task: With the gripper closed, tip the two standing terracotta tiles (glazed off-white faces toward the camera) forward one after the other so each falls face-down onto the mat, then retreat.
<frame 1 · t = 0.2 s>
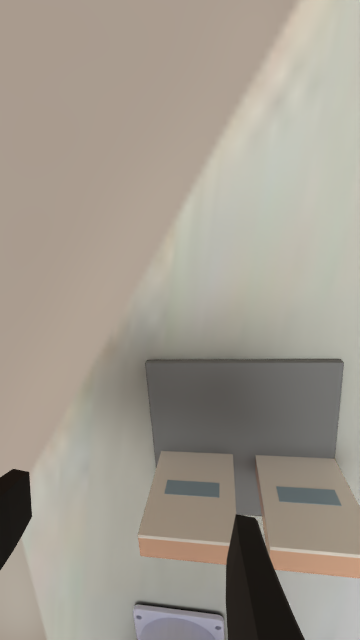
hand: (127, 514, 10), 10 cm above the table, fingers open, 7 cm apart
mat: (239, 440, 20), on the table
tile a: (293, 466, 19), resting on mat
tile b: (196, 461, 20), resting on mat
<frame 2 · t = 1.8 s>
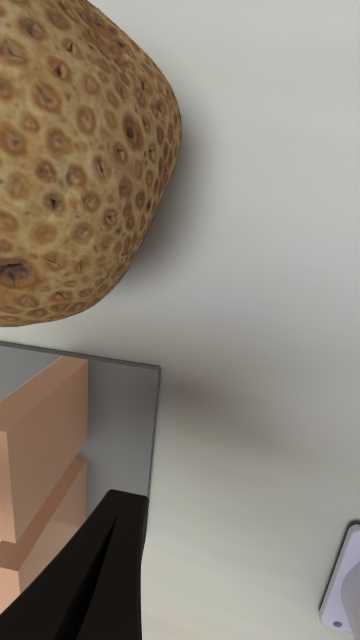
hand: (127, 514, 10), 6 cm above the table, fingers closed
mat: (56, 440, 17), on the table
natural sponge: (93, 195, 14), on the table
tile a: (75, 398, 16), resting on mat
tile b: (76, 490, 18), resting on mat
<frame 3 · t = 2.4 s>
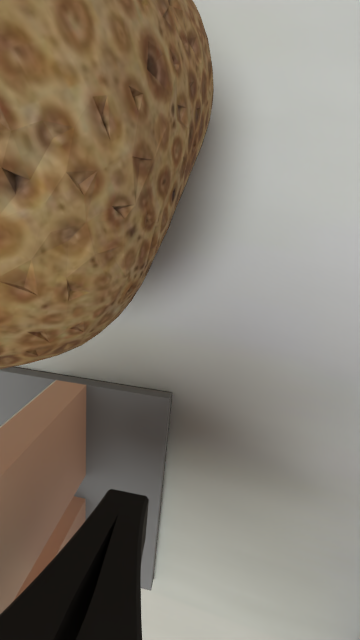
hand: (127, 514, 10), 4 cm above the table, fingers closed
mat: (50, 474, 15), on the table
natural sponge: (91, 187, 11), on the table
tile a: (71, 429, 13), resting on mat
tile b: (73, 532, 15), resting on mat
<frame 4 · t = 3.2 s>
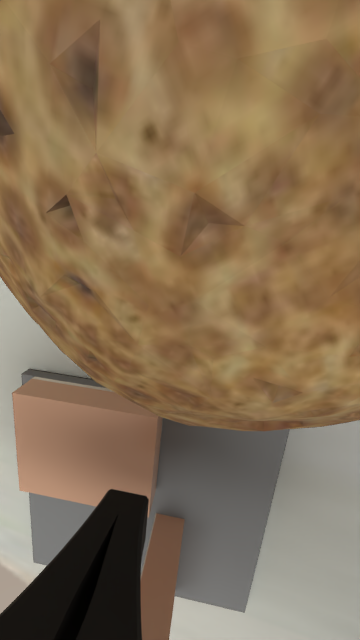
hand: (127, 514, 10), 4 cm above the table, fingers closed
mat: (144, 493, 14), on the table
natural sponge: (223, 198, 10), on the table
tile a: (156, 458, 12), point 1 cm above the table, tilted 90°, touching mat
tile b: (166, 553, 15), resting on mat
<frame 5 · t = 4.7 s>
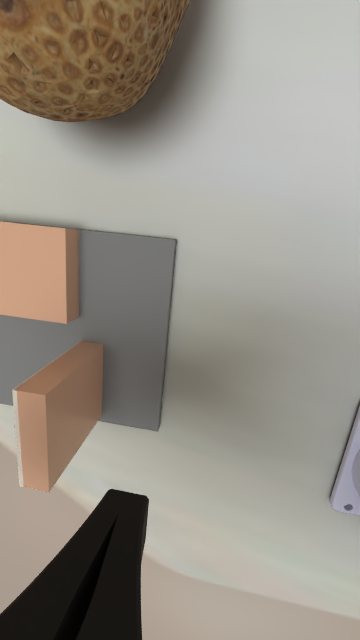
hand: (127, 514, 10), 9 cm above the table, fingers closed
mat: (73, 328, 18), on the table
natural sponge: (113, 56, 14), on the table
tile a: (72, 276, 16), point 1 cm above the table, tilted 90°, touching mat
tile b: (92, 379, 18), resting on mat
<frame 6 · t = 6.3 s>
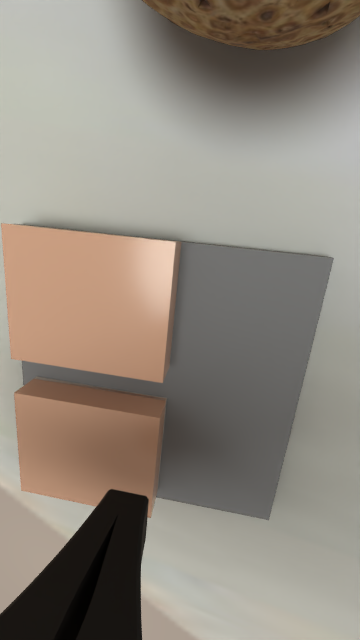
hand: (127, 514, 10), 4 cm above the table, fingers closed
mat: (154, 379, 13), on the table
tile a: (172, 312, 10), point 1 cm above the table, tilted 90°, touching mat
tile b: (158, 458, 12), point 1 cm above the table, tilted 90°, touching mat
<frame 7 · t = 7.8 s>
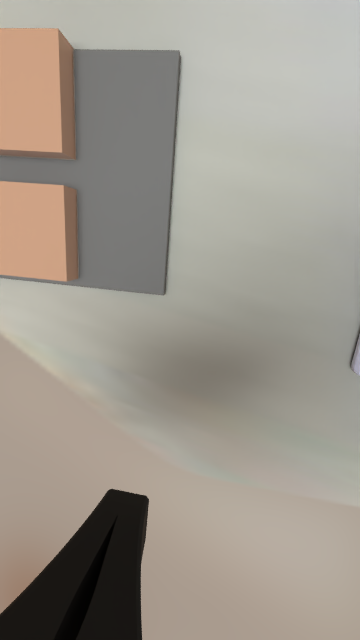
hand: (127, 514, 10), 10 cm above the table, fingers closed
mat: (70, 181, 16), on the table
tile a: (67, 100, 14), point 1 cm above the table, tilted 90°, touching mat
tile b: (71, 235, 16), point 1 cm above the table, tilted 90°, touching mat
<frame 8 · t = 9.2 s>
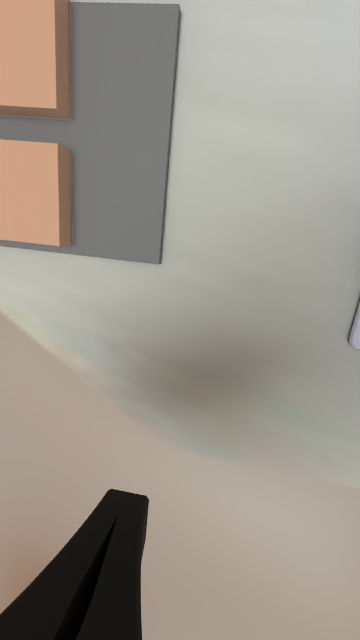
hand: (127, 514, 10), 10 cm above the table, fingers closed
mat: (65, 144, 16), on the table
tile a: (63, 54, 14), point 1 cm above the table, tilted 90°, touching mat
tile b: (65, 199, 16), point 1 cm above the table, tilted 90°, touching mat
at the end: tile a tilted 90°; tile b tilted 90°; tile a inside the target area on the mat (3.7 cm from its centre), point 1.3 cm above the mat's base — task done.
